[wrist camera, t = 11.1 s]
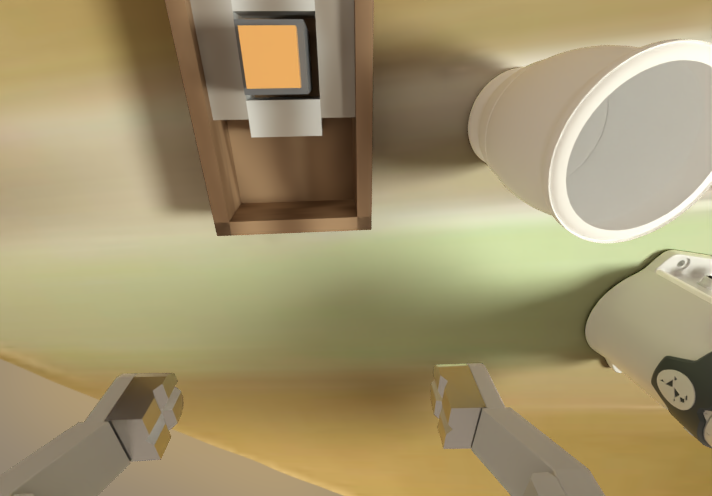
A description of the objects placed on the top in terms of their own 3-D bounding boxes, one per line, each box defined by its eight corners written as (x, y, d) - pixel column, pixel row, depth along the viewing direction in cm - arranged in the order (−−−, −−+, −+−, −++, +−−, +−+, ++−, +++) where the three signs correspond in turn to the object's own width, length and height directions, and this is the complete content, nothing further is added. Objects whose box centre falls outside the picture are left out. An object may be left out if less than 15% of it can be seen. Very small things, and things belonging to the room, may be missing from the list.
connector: (308, 31, 26) (301, 16, 19) (312, 89, 28) (307, 95, 21) (256, 32, 26) (228, 16, 19) (263, 90, 28) (241, 96, 20)
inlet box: (365, -51, 25) (374, -81, 20) (365, 207, 34) (371, 229, 29) (182, -53, 24) (145, -84, 19) (233, 211, 33) (217, 235, 28)
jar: (540, 181, 34) (676, 251, 21) (443, 170, 33) (521, 236, 20) (586, 63, 29) (800, 55, 16) (474, 44, 28) (606, 18, 15)
